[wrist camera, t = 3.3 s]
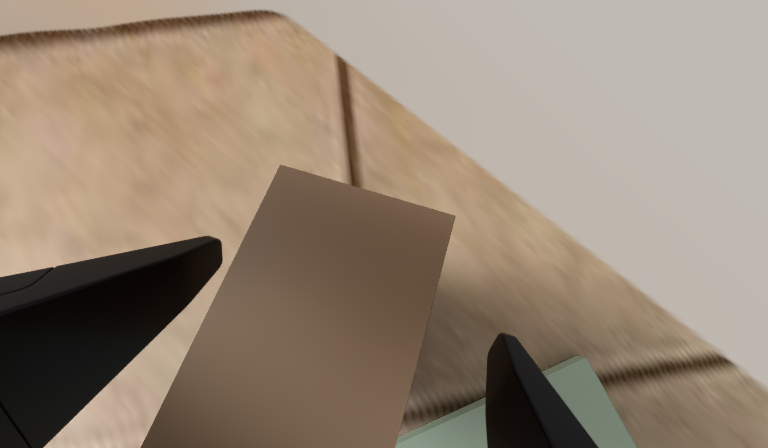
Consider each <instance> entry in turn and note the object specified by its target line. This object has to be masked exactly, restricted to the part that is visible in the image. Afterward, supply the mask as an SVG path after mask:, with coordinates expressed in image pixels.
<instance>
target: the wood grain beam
mask: <svg viewBox="0 0 768 448" xmlns="http://www.w3.org/2000/svg"><path fill="white" fill-rule="evenodd" d="M454 220H455V216H454V215H451V214H447V213H444V212H440V211H437V210H434V209H430V208H427V207H423V206H420V205H416V204H413V203H410V202H406V201H403V200H399V199H396V198H392V197H389V196H386V195H382V194H379V193H375V192H372V191H369V190H365V189H362V188H358V187H355V186H351V185H348V184H345V183H341V182H338V181H334V180H331V179H328V178H324V177H321V176H317V175H314V174H310V173H307V172H304V171H300V170H297V169H293V168H290V167H287V166H283V165H280V166H279V168H278V170H277V173H276V175H275V177H274V179H273V181H272V183H271V185H270V187H269V189H268V191H267V193H266V195H265V197H264V199H263V201H262V203H261V205H260V207H259V209H258V211H257V213H256V215H255V217H254V219H253V221H252V223H251V225H250V227H249V229H248V231H247V233H246V235H245V237H244V239H243V241H242V243H241V246H240V248H239V250H238V252H237V254H236V256H235V258H234V260H233V262H232V264H231V266H230V268H229V270H228V272H227V274H226V276H225V278H224V280H223V282H222V284H221V286H220V288H219V290H218V292H217V294H216V296H215V298H214V300H213V302H212V304H211V306H210V308H209V310H208V312H207V314H206V316H205V319H204V321H203V323H202V325H201V327H200V329H199V331H198V333H197V335H196V337H195V339H194V341H193V343H192V345H191V347H190V349H189V351H188V353H187V355H186V357H185V359H184V361H183V363H182V365H181V367H180V369H179V371H178V373H177V375H176V377H175V379H174V381H173V383H172V385H171V387H170V389H169V391H168V394H167V396H166V398H165V400H164V402H163V404H162V406H161V408H160V410H159V412H158V414H157V416H156V418H155V420H154V422H153V424H152V426H151V428H150V430H149V432H148V434H147V436H146V438H145V440H144V442H143V444H142V446H141V448H395V446H396V442H397V439H398V435H399V431H400V427H401V423H402V419H403V416H404V412H405V408H406V404H407V400H408V396H409V393H410V389H411V385H412V381H413V377H414V373H415V370H416V366H417V362H418V358H419V354H420V350H421V347H422V343H423V339H424V335H425V331H426V327H427V324H428V320H429V316H430V312H431V308H432V304H433V301H434V297H435V293H436V289H437V285H438V281H439V278H440V274H441V270H442V266H443V262H444V258H445V255H446V251H447V247H448V243H449V239H450V235H451V232H452V228H453V224H454Z"/></svg>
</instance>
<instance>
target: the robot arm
mask: <svg viewBox="0 0 768 448" xmlns="http://www.w3.org/2000/svg"><path fill="white" fill-rule="evenodd" d="M222 261H223V258H222V243H221V241H220V240H219V239H217V238H214V237H211V236H203V237H198V238H193V239H188V240H183V241H178V242H174V243H169V244H164V245H159V246H154V247H149V248H144V249H139V250H134V251H129V252H124V253H119V254H115V255H110V256H105V257H100V258H95V259H90V260H85V261H80V262H75V263H70V264H65V265H60V266H56V267H55V268H53V267H50V268H45V269H40V270H36V271H31V272H25V273H20V274H15V275H10V276H5V277H0V448H43V447H44V446H45V445H46V444H47V443H48V442H49V441H50V440H51V439H52V438H53V437H54V436H56V435H57V434H58V433H59V432H60V431H61V430H62V429H63V428H64V427H65V426H66V425H67V424H68V423H69V422H70V421H71V420H72V419H73V418H74V417H75V416H76V415H77V414H78V413H79V412H80V411H81V410H82V409H83V408H84V407H85V406H86V405H87V404H88V403H89V402H90V401H91V400H92V399H93V398H94V397H95V396H96V395H97V394H98V393H99V392H100V391H101V390H102V389H103V388H104V387H105V386H106V385H107V384H108V383H109V382H110V381H111V380H112V379H113V378H114V377H115V376H117V375H118V374H119V373H120V372H121V371H122V370H123V369H124V368H125V367H126V366H127V365H128V364H129V363H130V362H131V361H132V360H133V359H134V358H135V357H136V356H137V355H138V354H139V353H140V352H141V351H142V350H143V349H144V348H145V347H146V346H147V345H148V344H149V343H150V342H151V341H152V340H153V339H154V338H155V337H156V336H157V335H158V334H159V333H160V332H161V331H162V330H163V329H164V328H165V327H166V326H167V325H168V324H169V323H170V322H171V321H172V320H173V319H174V318H175V317H176V316H178V315H179V314H180V313H181V312H182V311H183V310H184V309H185V307H186V306H187V305H188V304H189V303H190V302H191V301H192V300H193V299H194V298H195V296H196V295H197V294H198V293H199V292H200V290H201V289H202V288H203V287H204V286H205V284H206V283H207V282H208V281H209V280H210V279H211V277H212V276H213V275H214V274H215V273H216V271H217V270H218V269H219V268H220V266H221V264H222ZM485 417H486V433H487V448H599V447H598V446H597V445H596V443H595V442H594V441H593V439H592V438H591V437H590V435H589V434H588V433H587V431H586V430H585V429H584V427H583V426H582V425H581V423H580V422H579V421H578V419H577V418H576V417H575V415H574V414H573V413H572V411H571V410H570V409H569V407H568V406H567V405H566V403H565V402H564V401H563V399H562V398H561V397H560V395H559V394H558V393H557V391H556V390H555V389H554V387H553V386H552V385H551V383H550V382H549V381H548V379H547V378H546V377H545V375H544V374H543V373H542V371H541V370H540V369H539V367H538V366H537V365H536V363H535V362H534V361H533V359H532V358H531V357H530V355H529V354H528V353H527V351H526V350H525V349H524V347H523V346H522V345H521V343H520V342H519V341H518V339H517V338H516V337H514V336H512V335H509V334H506V333H500V334H499V335H498V336H497V338H496V340H495V341H494V343H493V345H492V347H491V348H490V350H489V353H488V357H487V378H486V401H485Z"/></svg>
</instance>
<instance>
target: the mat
mask: <svg viewBox="0 0 768 448" xmlns="http://www.w3.org/2000/svg"><path fill="white" fill-rule="evenodd" d="M542 373H543V374H544V375H545V377H546V378H547V379H548V381H549V382H550V383H551V385H552V386H553V387H554V389H555V390H556V391H557V393H558V394H559V395H560V397H561V398H562V399H563V401H564V402H565V403H566V405H567V406H568V407H569V409H570V410H571V411H572V413H573V414H574V415H575V417H576V418H577V419H578V421H579V422H580V423H581V425H582V426H583V427H584V429H585V430H586V431H587V433H588V434H589V435H590V437H591V438H592V439H593V441H594V442H595V443H596V445H597V446H598V447H599V448H637V447H636V445H635V443H634V441H633V440H632V438H631V436H630V434H629V432H628V431H627V429H626V427H625V425H624V423H623V422H622V420H621V418H620V416H619V414H618V413H617V411H616V409H615V407H614V405H613V404H612V402H611V400H610V398H609V397H608V395H607V393H606V391H605V389H604V388H603V386H602V384H601V382H600V380H599V379H598V377H597V375H596V373H595V371H594V370H593V368H592V366H591V364H590V362H589V361H588V359H587V357H582V356H575V357H573V358H570V359H568V360H566V361H564V362H562V363H559V364H557V365H555V366H553V367H551V368H548V369H546V370H544V371H542ZM485 401H486V397H485V398H483V399H480V400H478V401H476V402H474V403H472V404H469V405H467V406H465V407H463V408H461V409H458V410H456V411H454V412H452V413H450V414H447V415H445V416H443V417H441V418H439V419H436V420H434V421H432V422H430V423H428V424H425V425H423V426H421V427H419V428H417V429H414V430H412V431H410V432H408V433H406V434H403V435H401V436H399V437H398V439H397V442H396V446H395V448H487V433H486V417H485Z"/></svg>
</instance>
